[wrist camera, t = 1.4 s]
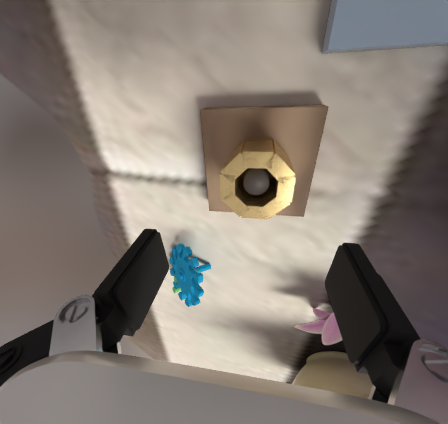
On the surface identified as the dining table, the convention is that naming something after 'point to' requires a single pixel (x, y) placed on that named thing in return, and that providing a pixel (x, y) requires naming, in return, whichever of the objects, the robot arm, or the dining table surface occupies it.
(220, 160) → the rod stand
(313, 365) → the pitcher
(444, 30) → the hub plate
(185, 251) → the gear
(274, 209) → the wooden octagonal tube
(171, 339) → the dining table surface
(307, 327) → the lily
